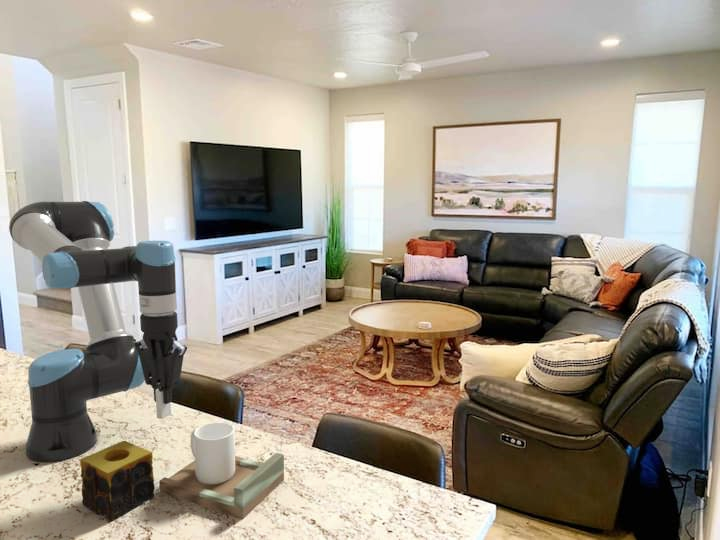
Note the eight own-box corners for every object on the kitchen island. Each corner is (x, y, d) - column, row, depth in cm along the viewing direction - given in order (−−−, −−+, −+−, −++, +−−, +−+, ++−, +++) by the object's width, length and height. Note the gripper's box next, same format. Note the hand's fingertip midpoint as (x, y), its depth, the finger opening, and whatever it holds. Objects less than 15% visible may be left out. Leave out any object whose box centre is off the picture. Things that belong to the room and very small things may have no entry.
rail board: (159, 493, 109) (158, 466, 108) (207, 460, 122) (206, 436, 122) (243, 518, 101) (242, 490, 100) (284, 480, 114) (283, 454, 113)
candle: (110, 523, 99) (107, 474, 97) (80, 506, 104) (77, 459, 103) (156, 497, 108) (154, 451, 106) (126, 482, 113) (123, 439, 111)
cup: (213, 490, 107) (211, 443, 105) (176, 471, 113) (174, 428, 112) (243, 472, 113) (242, 428, 112) (207, 456, 120) (205, 414, 119)
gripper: (122, 313, 111) (128, 417, 115) (169, 319, 106) (174, 428, 110) (149, 306, 118) (154, 405, 121) (194, 311, 113) (198, 414, 116)
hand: (164, 416), depth 116 cm, fingers closed
